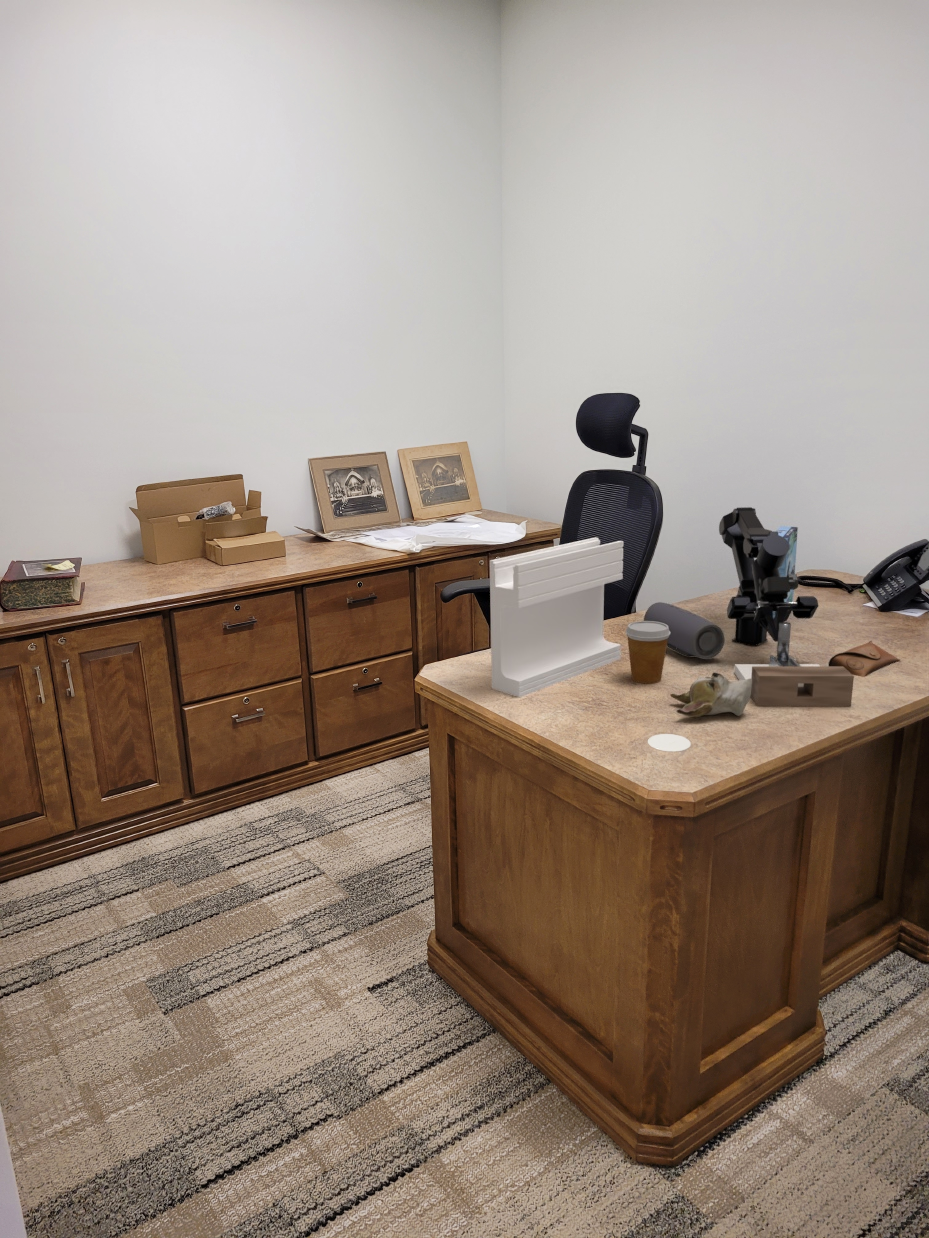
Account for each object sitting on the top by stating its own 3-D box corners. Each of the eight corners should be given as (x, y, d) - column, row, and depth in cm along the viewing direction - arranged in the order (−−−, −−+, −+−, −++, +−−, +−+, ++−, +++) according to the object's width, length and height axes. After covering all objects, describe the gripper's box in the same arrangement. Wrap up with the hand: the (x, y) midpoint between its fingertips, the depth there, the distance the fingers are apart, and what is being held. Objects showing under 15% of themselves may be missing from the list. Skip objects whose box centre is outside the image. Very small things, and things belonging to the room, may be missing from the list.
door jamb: (750, 695, 179) (752, 666, 177) (840, 695, 178) (843, 666, 176) (757, 706, 173) (759, 676, 171) (850, 706, 172) (853, 676, 170)
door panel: (734, 672, 193) (735, 652, 192) (817, 672, 191) (819, 652, 190) (746, 689, 182) (747, 668, 181) (834, 689, 181) (836, 667, 180)
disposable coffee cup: (670, 673, 193) (672, 621, 190) (665, 688, 185) (667, 633, 181) (627, 670, 196) (629, 619, 193) (620, 684, 188) (622, 630, 184)
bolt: (774, 666, 189) (777, 622, 186) (785, 666, 189) (789, 622, 186) (785, 678, 181) (788, 632, 178) (797, 678, 181) (800, 632, 178)
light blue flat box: (782, 624, 230) (789, 538, 224) (762, 622, 232) (768, 537, 226) (793, 607, 246) (799, 526, 240) (774, 605, 249) (780, 525, 243)
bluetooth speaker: (640, 640, 219) (641, 601, 216) (673, 636, 222) (674, 598, 219) (690, 666, 198) (692, 624, 195) (725, 662, 201) (727, 620, 198)
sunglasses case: (865, 677, 187) (852, 648, 189) (836, 686, 193) (824, 658, 194) (902, 659, 199) (890, 632, 200) (874, 669, 204) (862, 642, 205)
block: (593, 652, 210) (595, 537, 203) (620, 659, 205) (623, 541, 197) (491, 688, 187) (489, 560, 180) (519, 697, 181) (518, 565, 174)
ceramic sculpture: (758, 679, 162) (676, 683, 164) (758, 723, 164) (677, 726, 166) (746, 662, 172) (669, 666, 174) (746, 703, 174) (670, 707, 176)
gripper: (732, 561, 193) (741, 622, 185) (819, 560, 191) (831, 622, 184) (723, 588, 202) (731, 647, 195) (805, 587, 201) (816, 647, 193)
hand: (777, 640), depth 191 cm, fingers closed
